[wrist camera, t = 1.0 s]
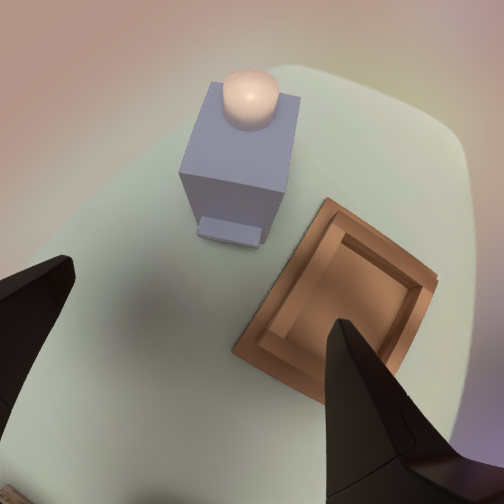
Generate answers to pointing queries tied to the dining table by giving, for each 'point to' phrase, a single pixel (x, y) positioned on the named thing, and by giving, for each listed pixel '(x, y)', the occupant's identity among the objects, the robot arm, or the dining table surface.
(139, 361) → the dining table surface
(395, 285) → the wooden socket base
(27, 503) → the coffee box
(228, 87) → the block
